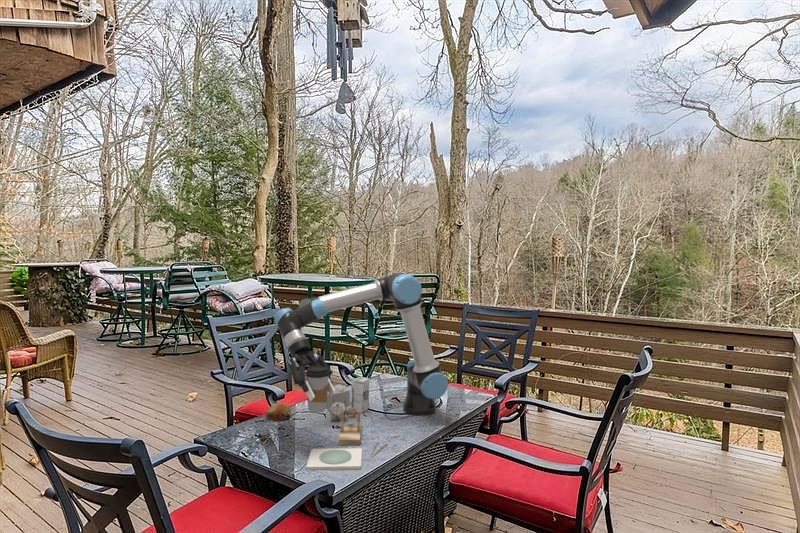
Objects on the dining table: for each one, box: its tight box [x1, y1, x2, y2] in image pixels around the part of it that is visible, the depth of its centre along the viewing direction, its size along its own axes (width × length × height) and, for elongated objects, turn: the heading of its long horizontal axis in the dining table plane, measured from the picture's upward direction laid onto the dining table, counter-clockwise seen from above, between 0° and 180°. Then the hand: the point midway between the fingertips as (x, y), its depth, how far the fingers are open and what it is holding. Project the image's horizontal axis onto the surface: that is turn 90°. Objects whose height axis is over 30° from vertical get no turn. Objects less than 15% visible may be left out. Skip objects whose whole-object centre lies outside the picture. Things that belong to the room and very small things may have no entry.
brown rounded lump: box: [265, 402, 292, 422], centre depth 200 cm, size 10×10×8 cm
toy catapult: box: [337, 406, 362, 446], centre depth 180 cm, size 19×8×10 cm, turn 3°
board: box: [305, 447, 363, 471], centre depth 159 cm, size 18×14×1 cm
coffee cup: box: [305, 366, 329, 413], centre depth 167 cm, size 8×8×15 cm
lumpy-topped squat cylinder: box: [325, 384, 351, 410], centre depth 217 cm, size 10×13×9 cm
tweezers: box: [369, 441, 388, 460], centre depth 165 cm, size 17×5×2 cm, turn 164°
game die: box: [326, 401, 348, 422], centre depth 197 cm, size 9×8×10 cm
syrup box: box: [351, 376, 370, 414], centre depth 209 cm, size 6×6×14 cm
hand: (322, 396), depth 165 cm, fingers closed on coffee cup, 8 cm apart
